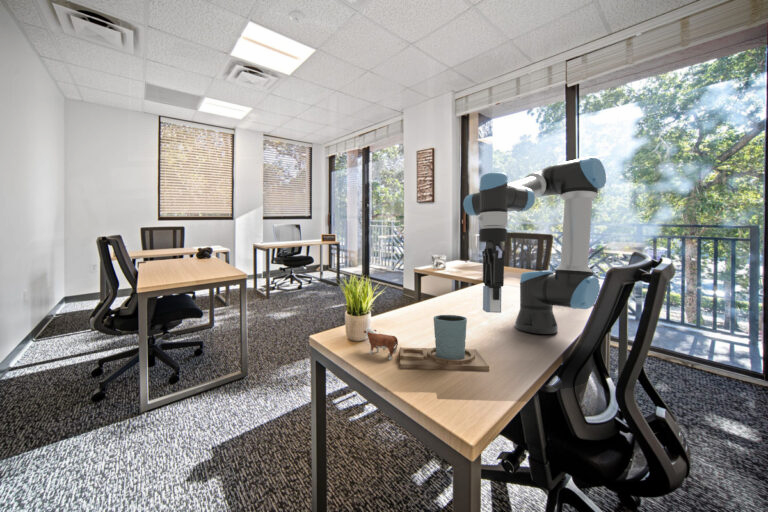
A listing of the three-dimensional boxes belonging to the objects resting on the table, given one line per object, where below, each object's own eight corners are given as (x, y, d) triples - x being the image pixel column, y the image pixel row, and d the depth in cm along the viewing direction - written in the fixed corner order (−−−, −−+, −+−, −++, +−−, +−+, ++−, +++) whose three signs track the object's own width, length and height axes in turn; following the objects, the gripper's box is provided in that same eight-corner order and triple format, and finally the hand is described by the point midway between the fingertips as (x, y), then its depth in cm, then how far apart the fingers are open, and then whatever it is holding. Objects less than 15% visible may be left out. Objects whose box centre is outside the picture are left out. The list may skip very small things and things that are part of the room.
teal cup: (450, 364, 90) (451, 322, 90) (426, 355, 99) (426, 316, 99) (473, 357, 96) (473, 318, 96) (448, 349, 105) (448, 313, 105)
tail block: (496, 310, 93) (497, 286, 93) (501, 312, 89) (501, 287, 89) (482, 309, 93) (483, 285, 93) (486, 312, 89) (487, 287, 89)
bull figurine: (368, 350, 108) (368, 326, 108) (400, 358, 99) (400, 332, 99) (359, 353, 104) (359, 328, 104) (391, 362, 96) (392, 335, 96)
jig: (475, 352, 105) (475, 346, 105) (489, 370, 89) (489, 362, 89) (400, 351, 106) (400, 344, 106) (400, 368, 90) (400, 360, 90)
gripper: (472, 230, 99) (471, 305, 99) (488, 225, 82) (487, 315, 82) (496, 230, 99) (496, 305, 99) (517, 225, 82) (516, 315, 82)
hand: (492, 309), depth 91 cm, fingers closed on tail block, 4 cm apart
